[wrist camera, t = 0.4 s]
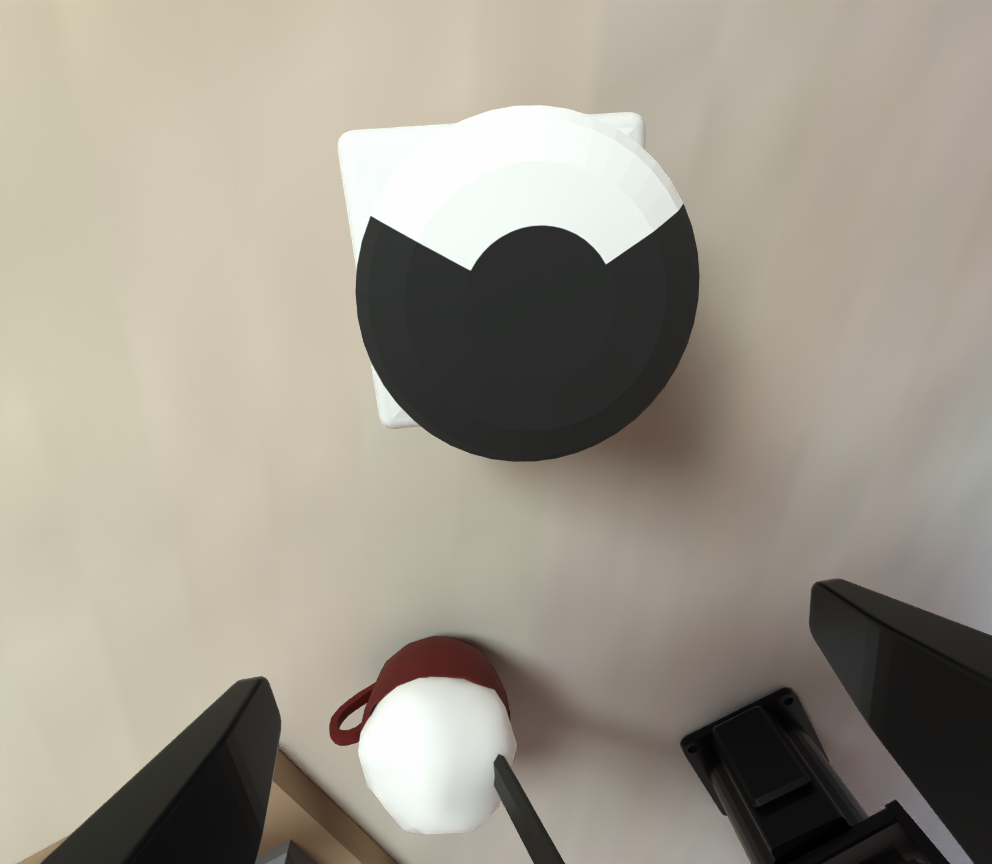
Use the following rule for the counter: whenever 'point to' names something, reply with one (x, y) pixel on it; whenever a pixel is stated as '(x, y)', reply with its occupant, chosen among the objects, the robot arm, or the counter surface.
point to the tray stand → (301, 826)
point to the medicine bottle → (518, 276)
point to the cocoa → (441, 744)
